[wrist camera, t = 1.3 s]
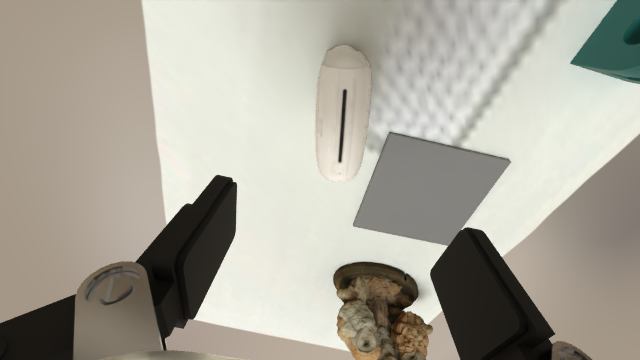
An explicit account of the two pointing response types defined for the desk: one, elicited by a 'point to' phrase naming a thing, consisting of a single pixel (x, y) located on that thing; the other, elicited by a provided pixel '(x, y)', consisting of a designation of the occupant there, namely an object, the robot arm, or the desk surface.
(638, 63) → the bracket
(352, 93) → the photo printer
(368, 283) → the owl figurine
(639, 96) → the desk surface
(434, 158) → the mat
